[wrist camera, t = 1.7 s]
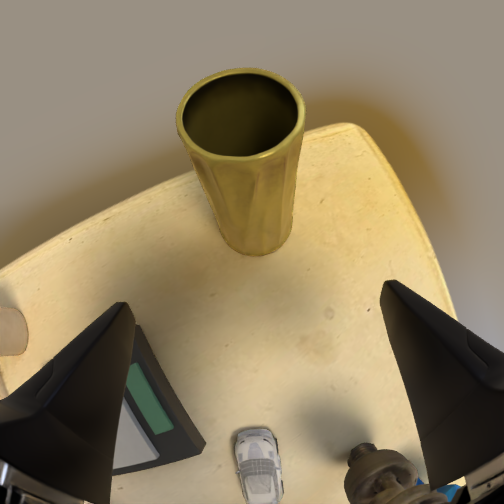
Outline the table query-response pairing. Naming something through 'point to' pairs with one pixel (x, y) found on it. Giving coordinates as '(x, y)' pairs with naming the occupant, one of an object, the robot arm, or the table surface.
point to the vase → (245, 153)
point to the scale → (151, 417)
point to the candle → (12, 332)
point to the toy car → (259, 466)
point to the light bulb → (385, 479)
